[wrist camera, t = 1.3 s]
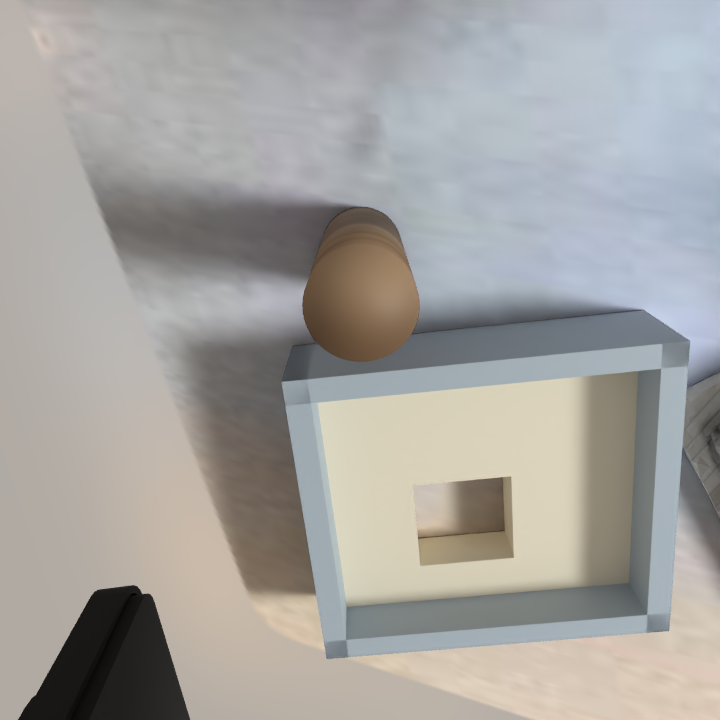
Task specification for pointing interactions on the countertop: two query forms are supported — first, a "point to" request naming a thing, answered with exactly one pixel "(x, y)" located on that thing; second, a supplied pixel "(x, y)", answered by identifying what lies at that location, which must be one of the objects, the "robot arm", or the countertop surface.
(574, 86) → the countertop surface
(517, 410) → the box
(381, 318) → the dowel
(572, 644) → the countertop surface
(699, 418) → the packaged product
